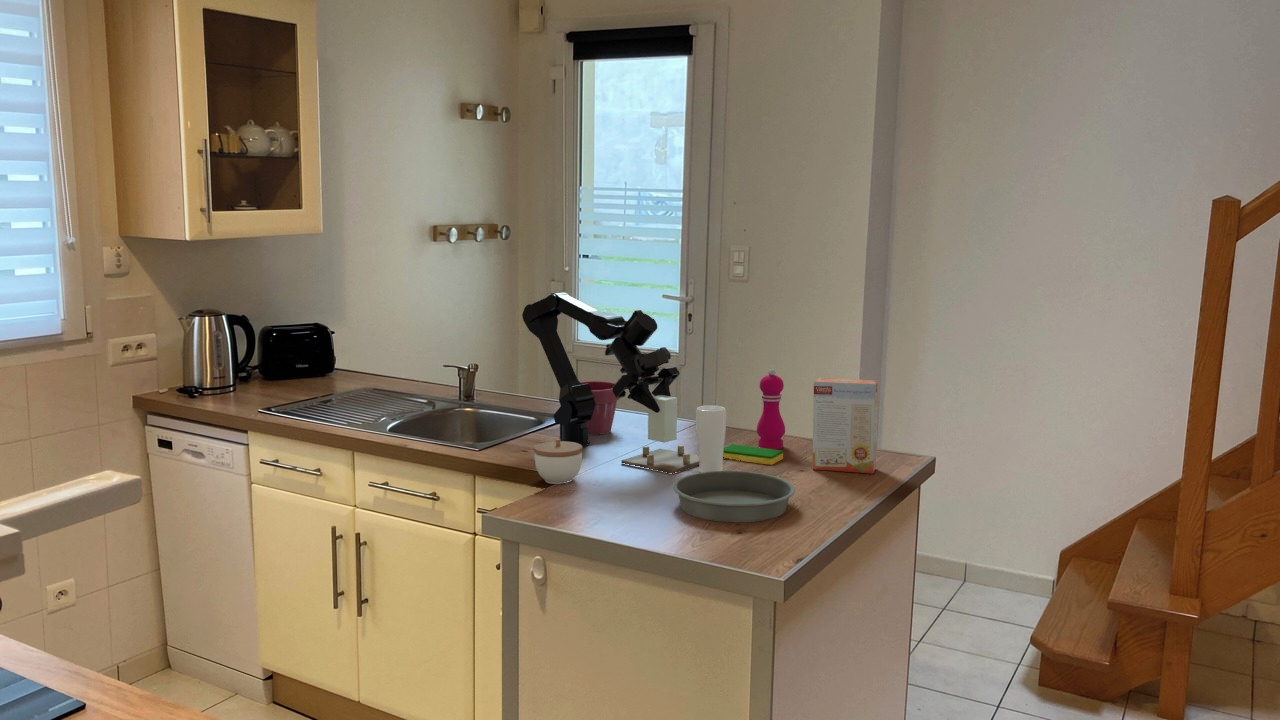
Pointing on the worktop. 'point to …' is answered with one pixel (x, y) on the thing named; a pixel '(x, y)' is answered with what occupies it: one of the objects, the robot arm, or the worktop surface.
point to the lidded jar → (558, 460)
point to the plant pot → (602, 407)
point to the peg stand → (664, 460)
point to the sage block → (663, 419)
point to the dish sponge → (753, 454)
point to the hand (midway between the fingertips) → (665, 410)
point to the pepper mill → (771, 413)
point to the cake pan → (733, 495)
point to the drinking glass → (710, 437)
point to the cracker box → (845, 425)
